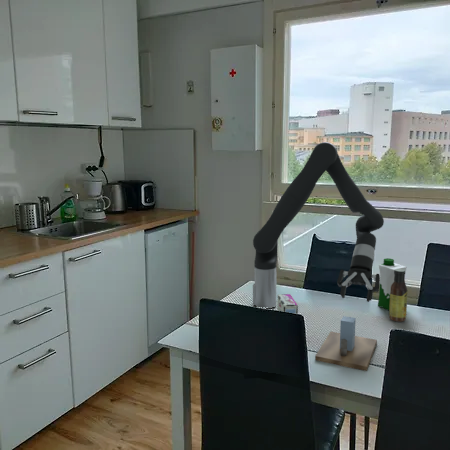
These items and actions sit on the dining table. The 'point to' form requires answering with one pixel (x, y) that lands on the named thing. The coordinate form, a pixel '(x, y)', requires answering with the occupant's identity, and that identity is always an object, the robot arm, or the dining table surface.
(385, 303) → the milk carton
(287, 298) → the candy bar box
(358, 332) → the dining table surface
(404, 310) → the sauce bottle
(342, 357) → the wooden peg board
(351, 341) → the block
